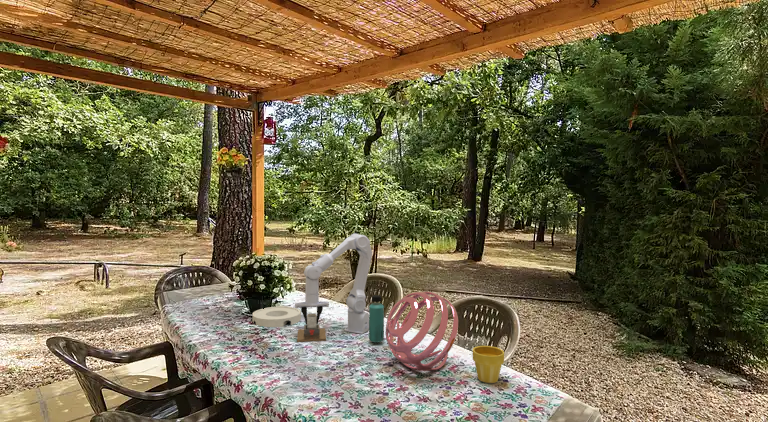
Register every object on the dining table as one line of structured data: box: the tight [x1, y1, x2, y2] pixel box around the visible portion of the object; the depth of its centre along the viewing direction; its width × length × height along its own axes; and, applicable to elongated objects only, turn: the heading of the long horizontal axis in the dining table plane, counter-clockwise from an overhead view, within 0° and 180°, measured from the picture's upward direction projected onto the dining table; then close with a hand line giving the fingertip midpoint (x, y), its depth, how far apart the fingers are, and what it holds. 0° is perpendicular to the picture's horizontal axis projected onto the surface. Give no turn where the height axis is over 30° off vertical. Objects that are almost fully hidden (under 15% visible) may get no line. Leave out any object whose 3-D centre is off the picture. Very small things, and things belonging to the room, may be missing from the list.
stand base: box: [296, 323, 327, 343], centre depth 183 cm, size 14×12×4 cm
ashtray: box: [252, 306, 302, 328], centre depth 206 cm, size 23×23×4 cm
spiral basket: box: [385, 291, 459, 372], centre depth 152 cm, size 28×28×27 cm
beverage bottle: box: [368, 294, 385, 343], centre depth 175 cm, size 6×7×20 cm
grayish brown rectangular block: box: [307, 313, 317, 329], centre depth 182 cm, size 4×4×8 cm
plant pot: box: [472, 345, 505, 384], centre depth 141 cm, size 10×10×10 cm
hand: (311, 323), depth 182 cm, fingers closed on grayish brown rectangular block, 4 cm apart
